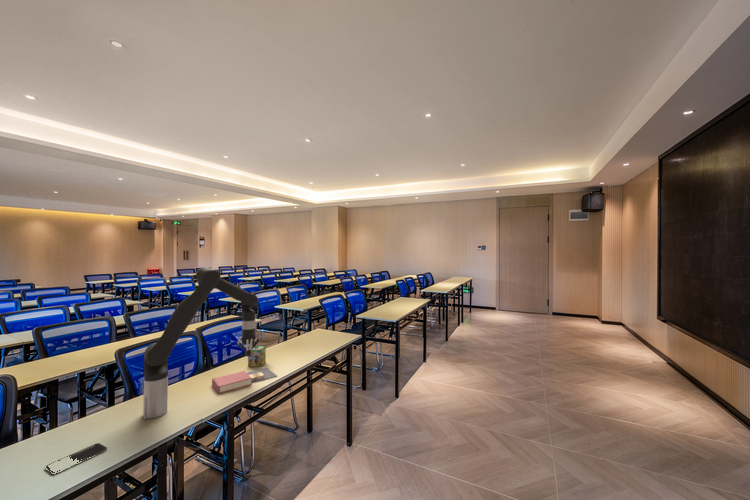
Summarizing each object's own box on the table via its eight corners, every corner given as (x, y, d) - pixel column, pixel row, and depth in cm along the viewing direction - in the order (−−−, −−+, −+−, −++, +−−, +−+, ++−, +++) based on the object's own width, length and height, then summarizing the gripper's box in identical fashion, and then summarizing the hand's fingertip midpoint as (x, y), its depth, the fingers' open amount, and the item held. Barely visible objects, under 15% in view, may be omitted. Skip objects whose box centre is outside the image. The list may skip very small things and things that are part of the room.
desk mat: (251, 383, 176) (251, 382, 176) (241, 374, 189) (241, 373, 189) (277, 376, 186) (277, 375, 187) (266, 368, 200) (266, 367, 200)
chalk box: (260, 367, 202) (261, 345, 202) (247, 366, 202) (247, 345, 202) (266, 362, 211) (266, 341, 211) (253, 362, 211) (253, 341, 212)
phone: (44, 466, 105) (98, 442, 118) (44, 469, 105) (98, 445, 118) (53, 473, 102) (108, 448, 115) (53, 476, 102) (108, 451, 115)
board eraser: (249, 382, 177) (249, 378, 177) (246, 379, 181) (246, 375, 181) (264, 378, 183) (264, 375, 183) (260, 375, 187) (260, 372, 187)
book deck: (218, 393, 162) (218, 386, 162) (211, 385, 173) (212, 378, 173) (251, 384, 174) (251, 377, 174) (244, 377, 185) (244, 370, 185)
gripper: (239, 330, 173) (238, 360, 173) (261, 327, 182) (261, 355, 181) (235, 327, 179) (234, 356, 178) (257, 324, 187) (256, 352, 187)
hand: (247, 356), depth 180 cm, fingers closed
